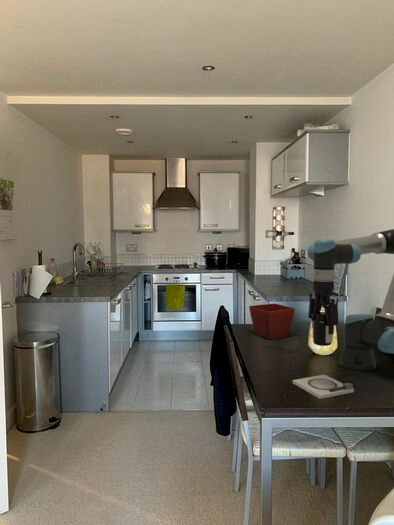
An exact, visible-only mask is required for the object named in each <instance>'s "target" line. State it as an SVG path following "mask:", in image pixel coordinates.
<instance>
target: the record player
mask: <svg viewBox="0 0 394 525" xmlns="http://www.w3.org/2000/svg"><path fill="white" fill-rule="evenodd" d="M292 384H294V385H295V386H297V387H298V388H300V389H303V390H304V391H306V392H307V393H309V394H311V395H312V396H314V397H316V398H318V399H319V400H321V399H325V398H326V399H327V398H331V397H336V396H340V395H346V394H352V393H355V388H353V386H354V385H353V383H350V382H345V383H342V382H340V381H338V380H337V379H335V378H332V377H330V376H328V375H326V374H320V375H314V376H309V377H302V378H298V379H292Z"/></svg>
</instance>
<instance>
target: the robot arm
mask: <svg viewBox="0 0 394 525" xmlns="http://www.w3.org/2000/svg"><path fill="white" fill-rule="evenodd" d="M307 248H308V249H307V256H308V258H309V259H310V260H312V261H313V284H312V289H313V291H314V293H309V295H308V296H309V304H308V315H307V317H308V319H310V320H311V328H312V329H313V321H314V320H315V319H316V313H317V312H322V311H321V310H322V308H323V309H324V312H325V315H326V319H327V324H328V325H326V343H332V344H333V343H334V334H335V326H338V325H339V309H338V308H339V306H338V305H339V298H337V297H333V291H335V281H334V280H335V265H342V264H343V265H344V264H345V265H346V264H347V265H348V264H349V265H350V264H355V263H357V262H359V260H360V259H361V255H367V254H375V255H381V254H389V255H390V254H391V255H394V228H391V229H387V230H383V231H378V232H373V233H372V234H371V235H368V236H359V237H354V238H346V239H341V240H334V239H316V240H314V243H311V244H310V245H309V246H308V247H307ZM330 322H331V323H330ZM312 339H313V336H312ZM373 349H374V350H378V351H380V352H382V353H386V354H394V273H393V274H392V278H391V280H390V284H389V287H388V289H387V292H386V296H385V298H384V302H383V305H382V307H381V311H380V312H379V313H377V314H375V316H374V315H372V314H365V313H362V314H361V313H359V314H358V313H357V314H356V313H355V314H349V315H347V316H346V317H345V322H344V347H343V349H342V353H341V356H340V357H339V364H340V365H341V367H343V368H346V369H350V370H353V371H361V372H362V371H363V372H368V371H373V370H376V368H377V361H376V359H375V355H374V350H373Z"/></svg>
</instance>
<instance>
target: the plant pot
mask: <svg viewBox="0 0 394 525" xmlns="http://www.w3.org/2000/svg"><path fill="white" fill-rule="evenodd" d="M248 308H249V314H250V318H251V322H252V326H253V330H254V331H255V334H256V335H257V336H259V337H262V338H263V339H267V340H275V339H282V338H283V339H284V338H287V337H288V334H289V332H290V330H291V327H292V323H293V319H294V315H295V310H296V309H295V308H293V307H290V306H286V305H282V304H279V303H266V304H265V303H264V304H255V305H249V306H248Z"/></svg>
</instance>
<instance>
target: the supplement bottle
mask: <svg viewBox="0 0 394 525" xmlns="http://www.w3.org/2000/svg"><path fill="white" fill-rule="evenodd" d="M330 323H331V322H330ZM326 325H328V324H327V319H326V315H325V311H320V312H317V313H316V319H315V320H314V321H313V328H312V337H313V338H312V342H313V344H314V345H316V346H320V347H329V346H331V345H332V344H333V342H332V343H326Z"/></svg>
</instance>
